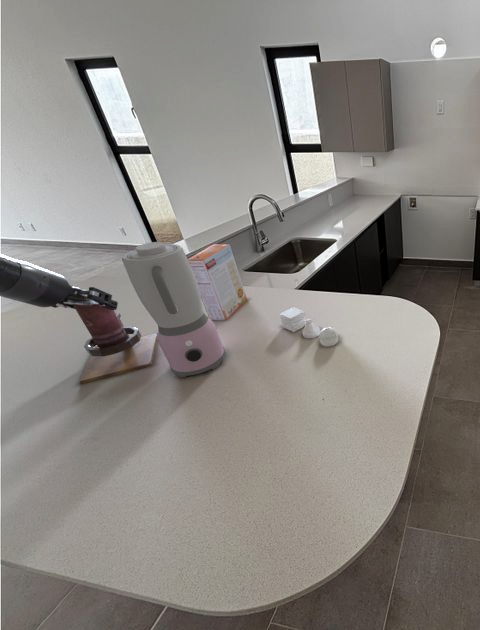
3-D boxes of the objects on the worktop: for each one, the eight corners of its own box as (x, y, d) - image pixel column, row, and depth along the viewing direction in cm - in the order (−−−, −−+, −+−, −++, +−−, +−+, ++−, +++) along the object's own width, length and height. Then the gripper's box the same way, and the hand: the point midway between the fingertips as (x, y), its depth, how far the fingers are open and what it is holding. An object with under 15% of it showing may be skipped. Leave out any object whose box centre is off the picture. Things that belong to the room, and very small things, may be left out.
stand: (82, 386, 79) (58, 352, 74) (98, 351, 91) (79, 320, 86) (152, 367, 85) (135, 335, 80) (159, 337, 97) (144, 307, 92)
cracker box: (231, 301, 117) (212, 243, 106) (248, 301, 117) (231, 243, 106) (208, 321, 105) (184, 259, 94) (227, 322, 104) (204, 259, 94)
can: (117, 350, 83) (89, 300, 76) (92, 350, 83) (61, 300, 76) (135, 336, 88) (111, 289, 81) (111, 336, 88) (84, 289, 81)
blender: (173, 359, 88) (116, 242, 72) (223, 344, 94) (182, 233, 78) (174, 394, 77) (107, 265, 61) (231, 375, 83) (185, 253, 66)
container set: (283, 329, 101) (279, 313, 98) (297, 321, 105) (293, 306, 102) (329, 350, 91) (326, 334, 89) (342, 341, 95) (340, 325, 92)
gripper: (69, 264, 67) (134, 291, 84) (-7, 267, 66) (73, 293, 83) (61, 299, 65) (129, 320, 82) (-17, 302, 65) (67, 322, 81)
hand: (100, 306), depth 82 cm, fingers closed on can, 6 cm apart
